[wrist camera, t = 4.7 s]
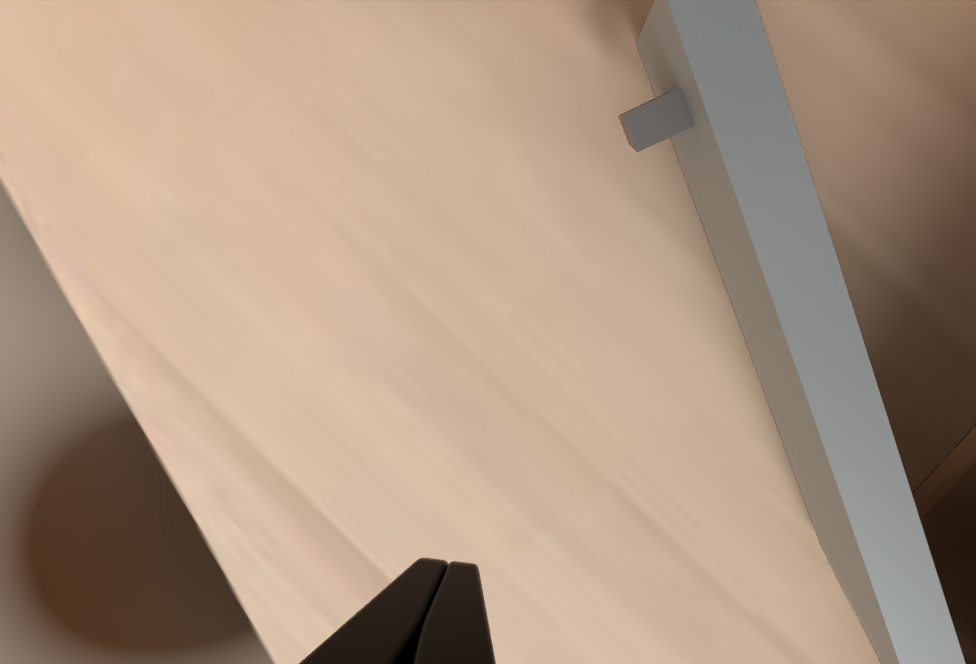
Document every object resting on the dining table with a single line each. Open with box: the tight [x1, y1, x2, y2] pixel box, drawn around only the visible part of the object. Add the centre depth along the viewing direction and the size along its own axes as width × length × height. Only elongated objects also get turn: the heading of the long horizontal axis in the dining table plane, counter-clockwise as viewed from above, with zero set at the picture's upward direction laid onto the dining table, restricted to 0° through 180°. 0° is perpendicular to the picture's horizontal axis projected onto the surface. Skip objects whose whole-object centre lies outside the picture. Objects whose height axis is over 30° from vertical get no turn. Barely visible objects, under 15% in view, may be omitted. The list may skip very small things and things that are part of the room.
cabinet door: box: [619, 0, 966, 664], centre depth 16 cm, size 19×2×8 cm, turn 25°
